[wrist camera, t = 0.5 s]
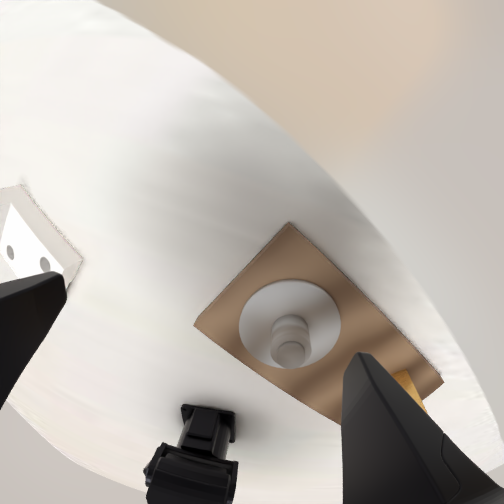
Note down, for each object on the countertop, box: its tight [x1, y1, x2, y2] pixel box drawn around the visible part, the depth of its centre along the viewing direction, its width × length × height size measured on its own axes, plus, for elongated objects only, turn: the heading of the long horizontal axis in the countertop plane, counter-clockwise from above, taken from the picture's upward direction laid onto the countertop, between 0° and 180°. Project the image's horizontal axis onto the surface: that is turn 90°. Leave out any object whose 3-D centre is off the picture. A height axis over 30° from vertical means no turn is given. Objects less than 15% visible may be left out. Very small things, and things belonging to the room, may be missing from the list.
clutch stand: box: [193, 222, 444, 425], centre depth 22 cm, size 26×12×6 cm, turn 49°
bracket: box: [0, 185, 83, 289], centre depth 22 cm, size 13×7×8 cm, turn 48°
